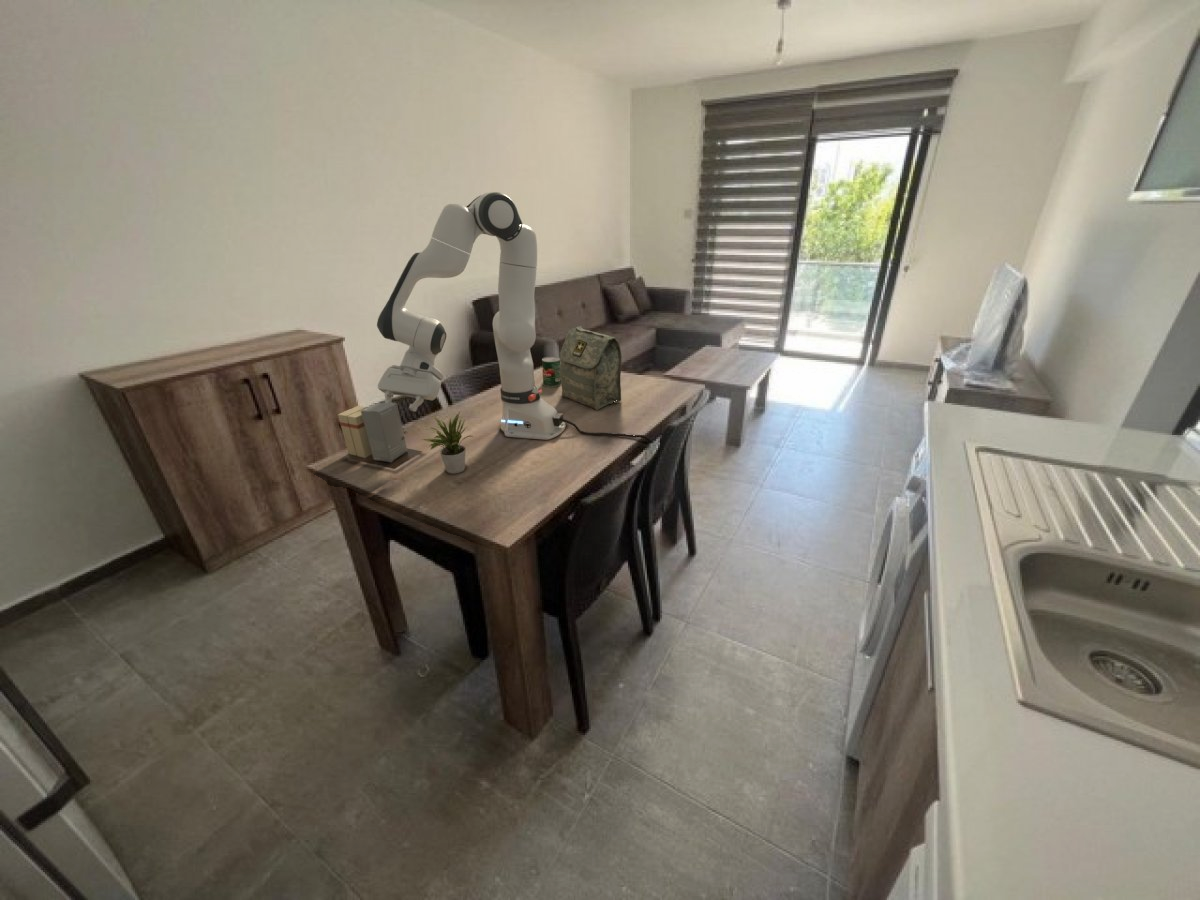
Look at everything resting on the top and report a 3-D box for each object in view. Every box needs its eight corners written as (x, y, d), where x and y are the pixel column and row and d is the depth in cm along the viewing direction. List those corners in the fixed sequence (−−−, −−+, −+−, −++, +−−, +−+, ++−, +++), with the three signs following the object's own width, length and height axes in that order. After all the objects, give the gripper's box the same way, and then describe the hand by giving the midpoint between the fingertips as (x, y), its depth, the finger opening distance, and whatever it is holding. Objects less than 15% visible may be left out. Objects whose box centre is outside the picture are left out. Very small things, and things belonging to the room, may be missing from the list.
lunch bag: (556, 397, 192) (553, 328, 180) (587, 388, 202) (586, 322, 189) (594, 412, 177) (593, 339, 165) (624, 402, 187) (626, 331, 174)
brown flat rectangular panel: (423, 454, 147) (423, 451, 146) (395, 472, 137) (394, 468, 136) (373, 444, 154) (372, 441, 153) (343, 460, 144) (342, 457, 143)
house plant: (439, 455, 146) (431, 405, 139) (484, 456, 146) (478, 406, 139) (422, 479, 133) (412, 425, 126) (471, 479, 133) (464, 425, 126)
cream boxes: (384, 447, 149) (375, 408, 143) (365, 457, 143) (355, 417, 137) (367, 443, 151) (358, 405, 145) (348, 454, 145) (337, 414, 139)
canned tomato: (541, 386, 204) (539, 361, 199) (545, 380, 211) (544, 356, 206) (559, 387, 203) (557, 361, 198) (563, 381, 210) (562, 356, 205)
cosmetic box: (391, 463, 139) (380, 412, 132) (370, 460, 141) (358, 410, 134) (409, 450, 147) (399, 402, 140) (389, 448, 148) (378, 400, 141)
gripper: (382, 359, 148) (365, 399, 144) (436, 366, 141) (419, 408, 137) (396, 369, 154) (379, 408, 150) (448, 376, 147) (432, 417, 143)
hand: (399, 408), depth 144 cm, fingers open, 8 cm apart
